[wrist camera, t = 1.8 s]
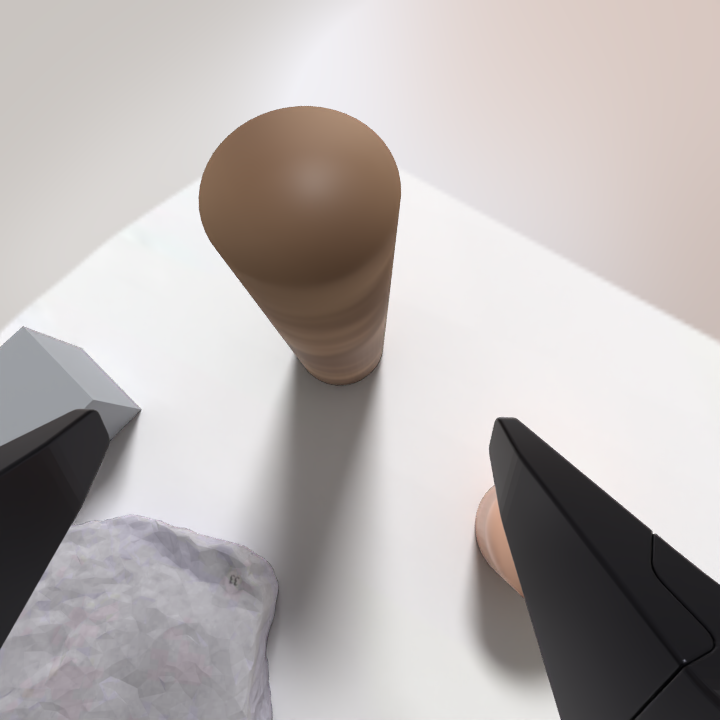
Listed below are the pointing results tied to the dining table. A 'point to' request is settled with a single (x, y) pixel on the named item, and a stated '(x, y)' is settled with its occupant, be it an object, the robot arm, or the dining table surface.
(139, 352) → the dining table surface
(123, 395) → the grey faceted polyhedron
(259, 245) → the walnut post
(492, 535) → the peach rounded knob part
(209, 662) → the stone block
